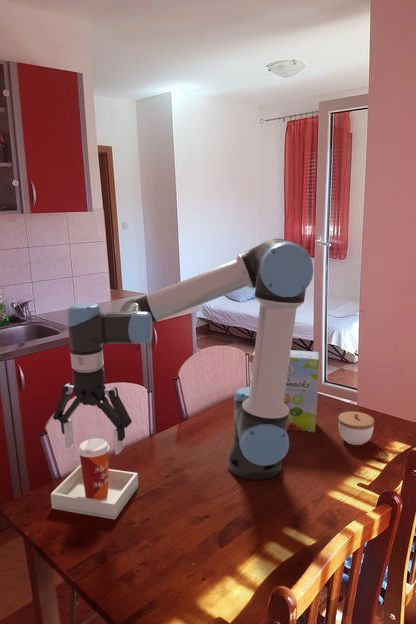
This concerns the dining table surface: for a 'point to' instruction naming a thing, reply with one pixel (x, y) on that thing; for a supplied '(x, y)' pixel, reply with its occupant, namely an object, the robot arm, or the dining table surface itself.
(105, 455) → the paper cup
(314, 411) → the snack box
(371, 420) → the lidded jar
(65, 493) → the tray
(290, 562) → the dining table surface
